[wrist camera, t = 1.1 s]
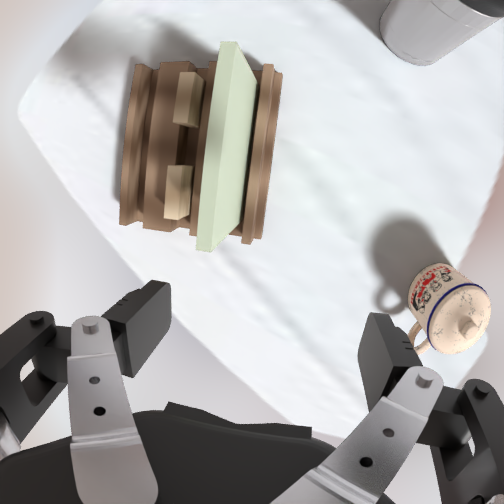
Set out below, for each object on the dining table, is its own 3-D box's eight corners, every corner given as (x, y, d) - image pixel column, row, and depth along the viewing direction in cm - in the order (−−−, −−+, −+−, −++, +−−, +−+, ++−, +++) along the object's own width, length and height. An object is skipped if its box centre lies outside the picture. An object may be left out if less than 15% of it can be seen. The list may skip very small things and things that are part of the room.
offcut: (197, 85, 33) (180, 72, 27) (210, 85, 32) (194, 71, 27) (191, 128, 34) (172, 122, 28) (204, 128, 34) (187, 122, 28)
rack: (146, 73, 34) (130, 65, 30) (282, 76, 32) (280, 65, 28) (131, 217, 40) (114, 223, 36) (261, 236, 38) (257, 245, 34)
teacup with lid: (436, 247, 35) (480, 277, 24) (470, 286, 36) (512, 322, 25) (378, 313, 39) (401, 363, 28) (416, 345, 39) (443, 395, 28)
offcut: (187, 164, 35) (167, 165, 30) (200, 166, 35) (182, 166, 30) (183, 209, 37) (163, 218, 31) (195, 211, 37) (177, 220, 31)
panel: (249, 85, 32) (220, 41, 19) (259, 86, 32) (236, 41, 18) (232, 218, 37) (195, 250, 23) (242, 219, 36) (211, 252, 23)
